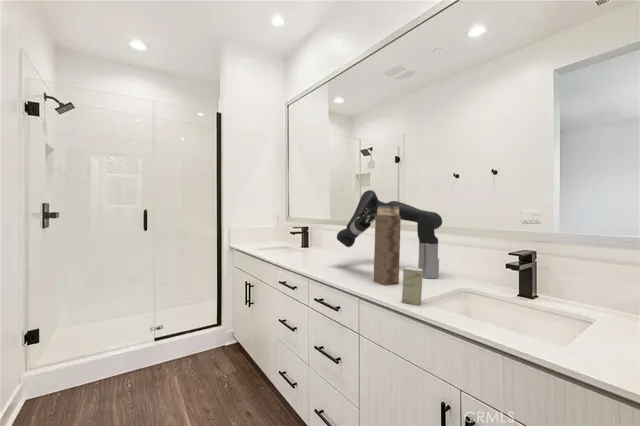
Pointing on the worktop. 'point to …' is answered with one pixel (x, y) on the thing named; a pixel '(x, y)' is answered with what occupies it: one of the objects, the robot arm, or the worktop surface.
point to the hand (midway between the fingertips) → (377, 209)
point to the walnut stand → (387, 249)
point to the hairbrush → (387, 210)
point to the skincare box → (412, 285)
